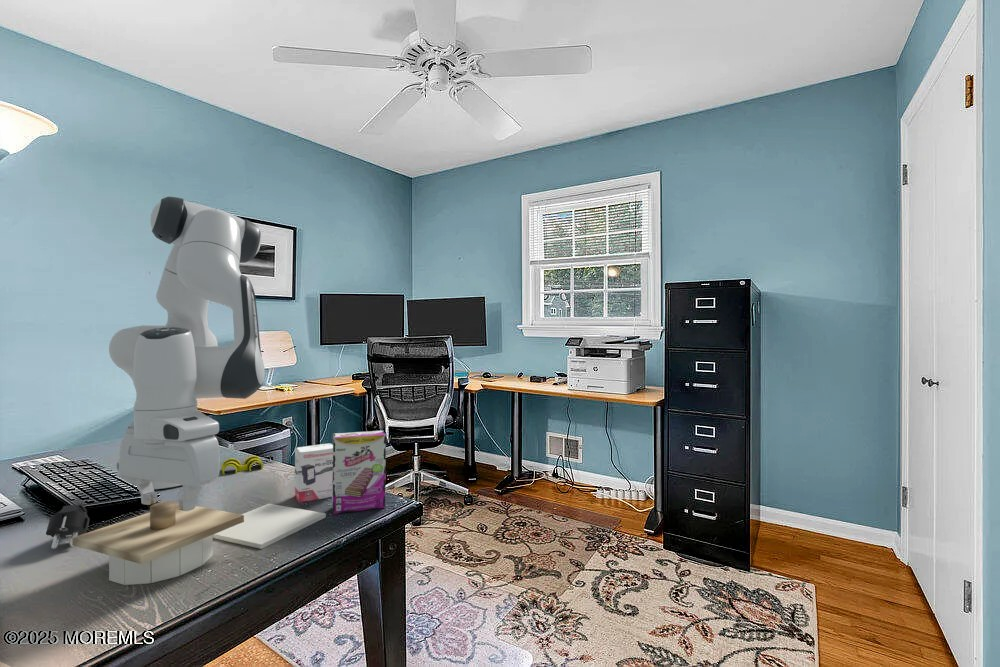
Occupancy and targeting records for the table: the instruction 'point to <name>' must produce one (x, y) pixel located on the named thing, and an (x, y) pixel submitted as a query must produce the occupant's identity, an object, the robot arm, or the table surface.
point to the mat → (268, 525)
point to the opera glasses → (237, 464)
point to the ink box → (313, 472)
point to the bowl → (161, 564)
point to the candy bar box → (358, 471)
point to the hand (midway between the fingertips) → (168, 506)
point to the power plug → (68, 523)
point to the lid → (157, 532)
